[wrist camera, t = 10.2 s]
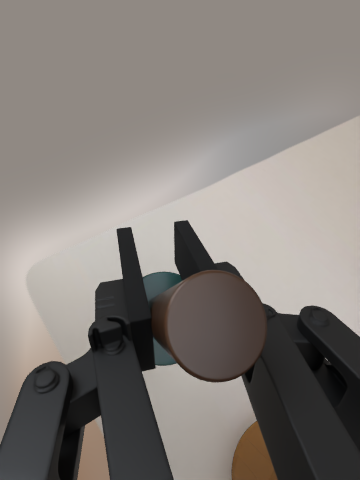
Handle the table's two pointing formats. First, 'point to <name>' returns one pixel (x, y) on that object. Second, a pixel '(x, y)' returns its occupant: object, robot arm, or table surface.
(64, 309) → the table surface
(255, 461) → the wooden pot
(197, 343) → the wooden peg on base
